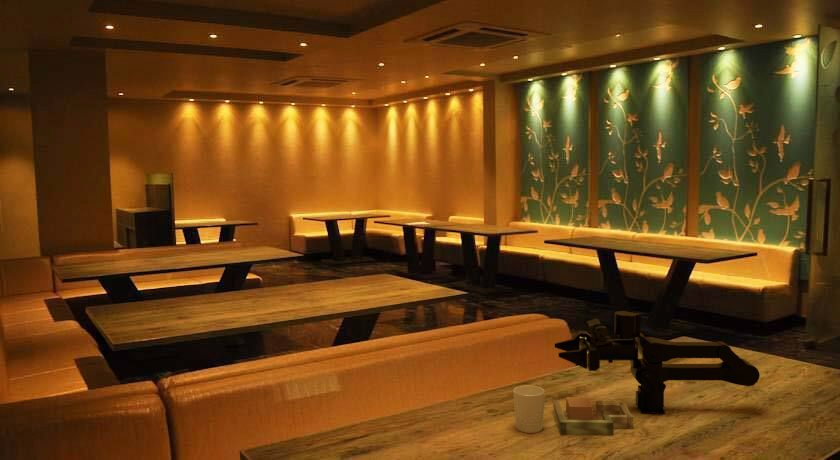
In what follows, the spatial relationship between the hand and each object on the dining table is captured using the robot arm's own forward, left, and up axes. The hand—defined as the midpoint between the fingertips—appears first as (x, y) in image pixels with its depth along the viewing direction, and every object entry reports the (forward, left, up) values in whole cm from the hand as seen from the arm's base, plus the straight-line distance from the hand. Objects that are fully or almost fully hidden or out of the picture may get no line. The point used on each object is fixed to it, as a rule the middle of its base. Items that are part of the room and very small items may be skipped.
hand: (556, 350), depth 183 cm
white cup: (+9, +14, -17) cm, 24 cm away
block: (-5, +5, -17) cm, 18 cm away
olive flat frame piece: (-8, +10, -17) cm, 21 cm away
